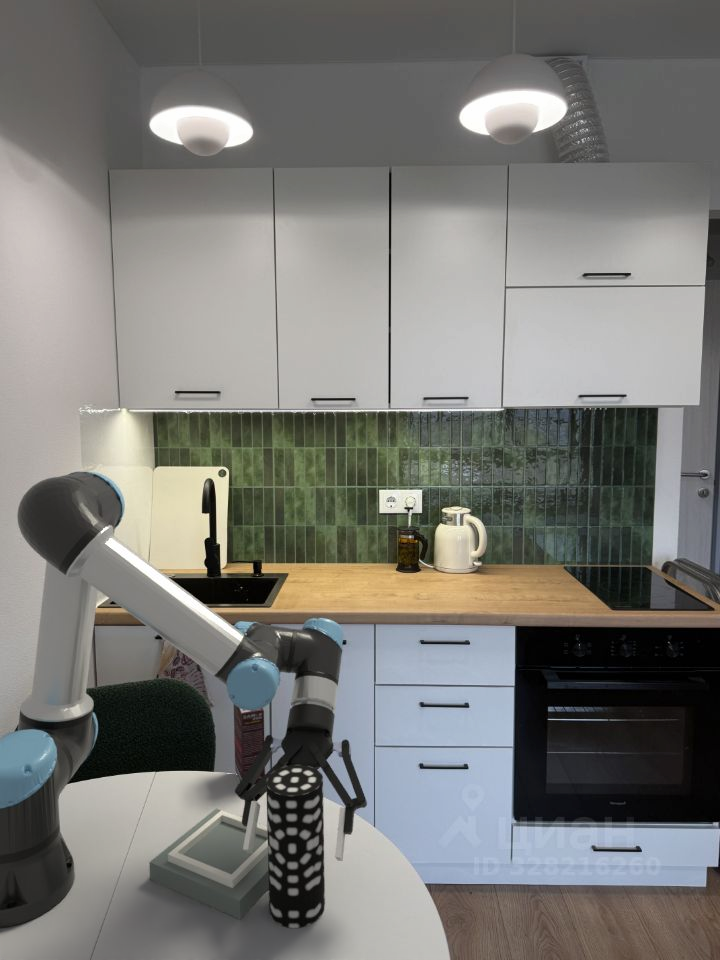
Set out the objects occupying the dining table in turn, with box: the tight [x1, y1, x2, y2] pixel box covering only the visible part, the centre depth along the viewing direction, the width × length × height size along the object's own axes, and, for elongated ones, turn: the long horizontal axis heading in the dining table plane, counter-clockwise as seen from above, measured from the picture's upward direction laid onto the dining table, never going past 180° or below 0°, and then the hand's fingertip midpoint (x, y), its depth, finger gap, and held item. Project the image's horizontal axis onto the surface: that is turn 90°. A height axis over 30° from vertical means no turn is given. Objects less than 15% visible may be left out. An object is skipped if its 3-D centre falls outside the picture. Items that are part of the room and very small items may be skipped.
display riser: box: [149, 808, 269, 920], centre depth 106 cm, size 18×16×4 cm
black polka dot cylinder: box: [266, 765, 326, 929], centre depth 96 cm, size 8×8×20 cm
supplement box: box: [233, 704, 266, 787], centre depth 132 cm, size 9×5×16 cm, turn 22°
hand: (292, 855), depth 94 cm, fingers open, 13 cm apart
